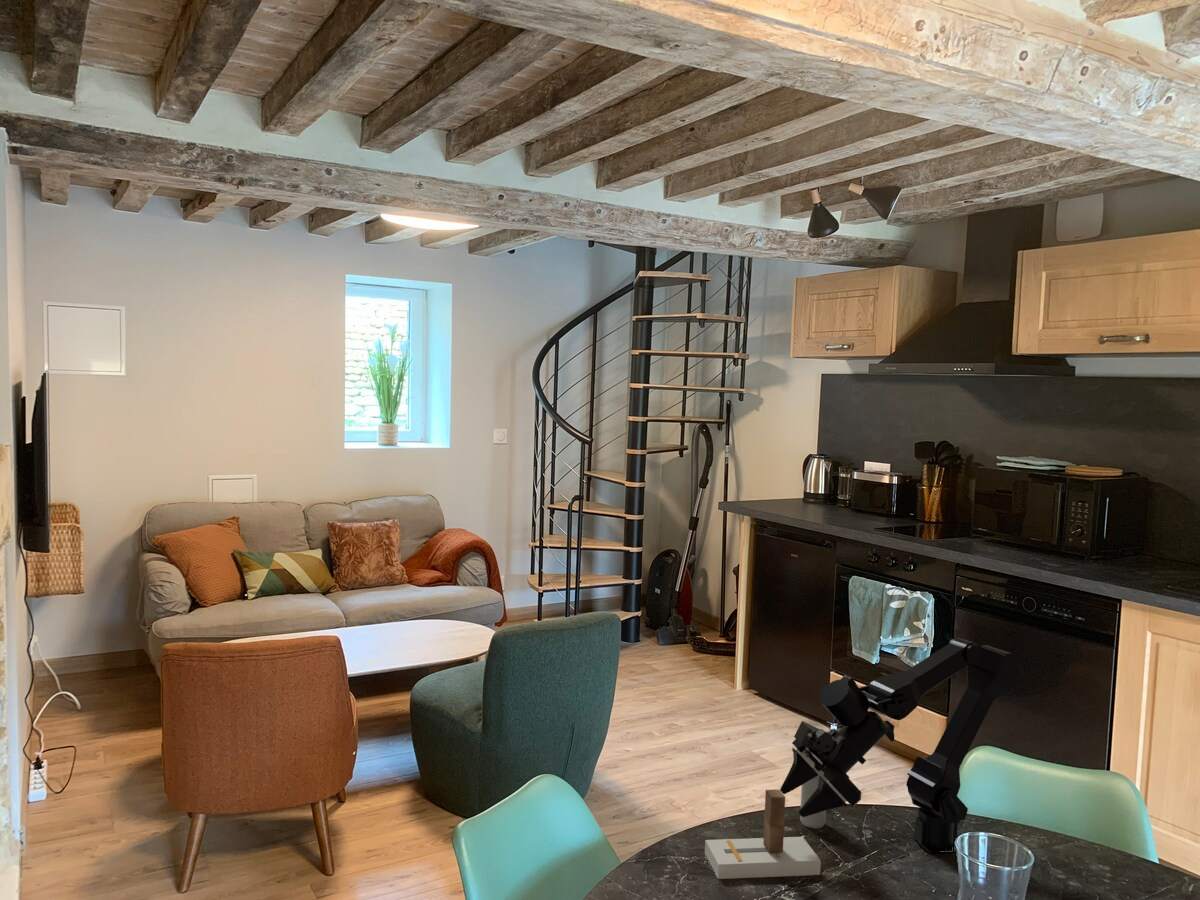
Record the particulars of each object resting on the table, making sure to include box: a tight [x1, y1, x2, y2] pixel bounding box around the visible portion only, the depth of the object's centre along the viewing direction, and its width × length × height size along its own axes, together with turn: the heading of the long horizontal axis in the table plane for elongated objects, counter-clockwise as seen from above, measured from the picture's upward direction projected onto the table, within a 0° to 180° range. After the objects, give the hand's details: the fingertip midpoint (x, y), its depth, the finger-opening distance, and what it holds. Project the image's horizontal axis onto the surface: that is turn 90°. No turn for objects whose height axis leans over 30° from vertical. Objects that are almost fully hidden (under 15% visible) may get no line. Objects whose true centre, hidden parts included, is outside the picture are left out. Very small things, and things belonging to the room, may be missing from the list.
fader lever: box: [763, 789, 786, 852], centre depth 156 cm, size 2×3×10 cm
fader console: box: [704, 836, 822, 880], centre depth 156 cm, size 18×9×3 cm, turn 98°
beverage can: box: [799, 767, 828, 830], centre depth 172 cm, size 5×5×12 cm
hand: (790, 803), depth 156 cm, fingers open, 9 cm apart
